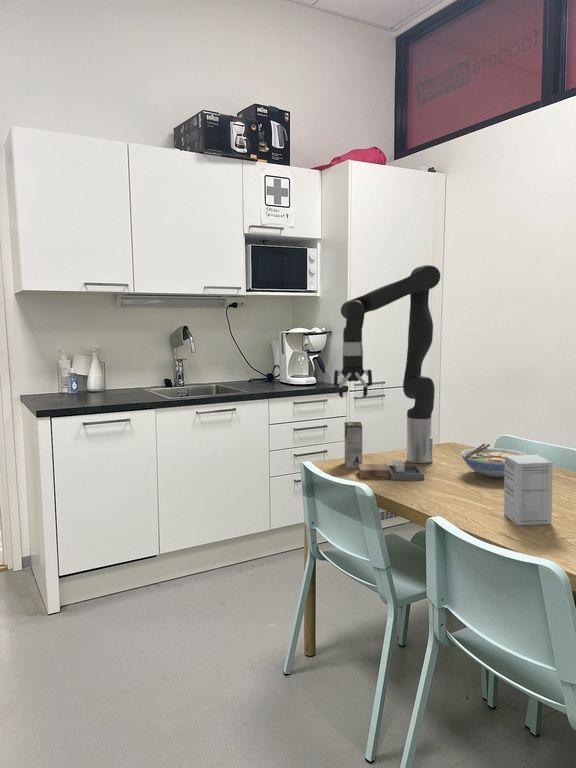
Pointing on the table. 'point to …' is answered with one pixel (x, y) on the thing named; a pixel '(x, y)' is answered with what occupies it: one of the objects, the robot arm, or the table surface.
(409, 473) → the charcoal tray
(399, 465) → the chip
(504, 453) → the ramen bowl
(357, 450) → the coffee box
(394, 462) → the chip
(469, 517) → the table surface
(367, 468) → the brown flat block
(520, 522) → the supplement box
